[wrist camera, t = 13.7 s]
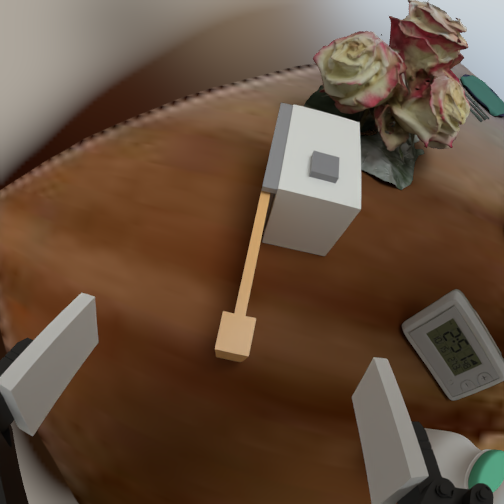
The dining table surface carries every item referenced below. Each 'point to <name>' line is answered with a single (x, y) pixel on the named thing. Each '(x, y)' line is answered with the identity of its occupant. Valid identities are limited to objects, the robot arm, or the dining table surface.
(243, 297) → the tan long-handled part
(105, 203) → the dining table surface
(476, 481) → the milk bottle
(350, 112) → the rose bouquet
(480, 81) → the cutlery set
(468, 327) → the digital clock
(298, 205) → the box
